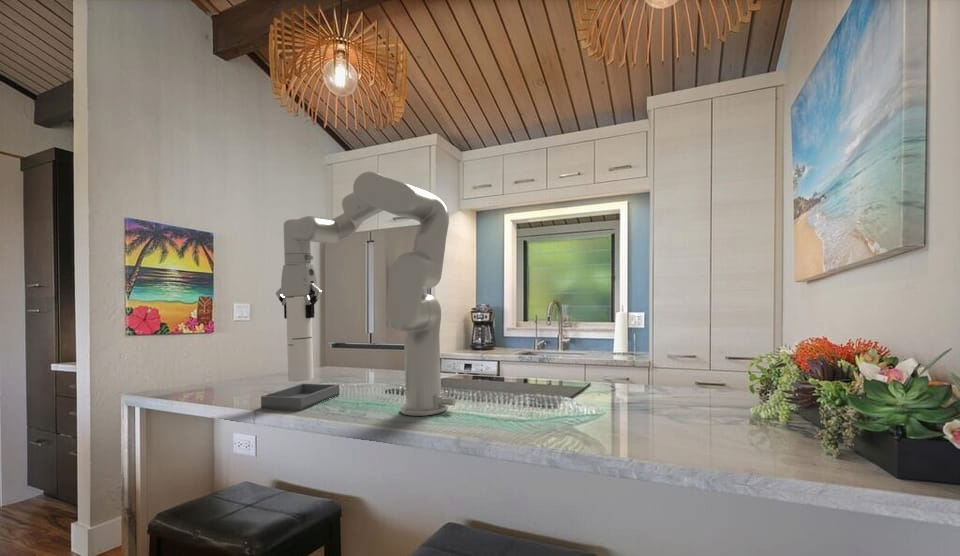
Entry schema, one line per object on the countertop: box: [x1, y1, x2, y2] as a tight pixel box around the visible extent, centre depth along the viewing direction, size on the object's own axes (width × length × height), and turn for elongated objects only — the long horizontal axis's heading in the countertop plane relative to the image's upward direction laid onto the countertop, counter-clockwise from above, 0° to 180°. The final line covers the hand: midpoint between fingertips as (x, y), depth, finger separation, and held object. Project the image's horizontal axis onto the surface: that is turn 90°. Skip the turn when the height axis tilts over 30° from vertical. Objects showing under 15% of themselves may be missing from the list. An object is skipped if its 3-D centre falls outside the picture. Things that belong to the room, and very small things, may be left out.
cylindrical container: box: [286, 297, 314, 383], centre depth 140 cm, size 7×7×25 cm
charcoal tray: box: [260, 383, 340, 412], centre depth 139 cm, size 14×18×4 cm
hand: (299, 317), depth 140 cm, fingers closed on cylindrical container, 7 cm apart
